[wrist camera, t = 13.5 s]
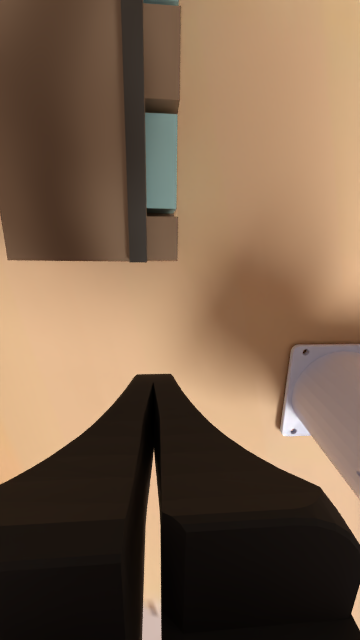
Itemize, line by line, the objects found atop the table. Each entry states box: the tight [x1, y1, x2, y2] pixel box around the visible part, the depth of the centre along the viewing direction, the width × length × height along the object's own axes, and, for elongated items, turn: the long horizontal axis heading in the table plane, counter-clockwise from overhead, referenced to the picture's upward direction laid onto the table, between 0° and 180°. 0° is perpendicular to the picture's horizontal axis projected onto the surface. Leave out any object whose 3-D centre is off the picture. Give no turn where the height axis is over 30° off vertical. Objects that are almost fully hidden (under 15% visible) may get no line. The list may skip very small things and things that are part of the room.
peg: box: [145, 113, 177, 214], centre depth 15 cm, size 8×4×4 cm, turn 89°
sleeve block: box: [0, 0, 181, 262], centre depth 14 cm, size 8×17×6 cm, turn 179°
